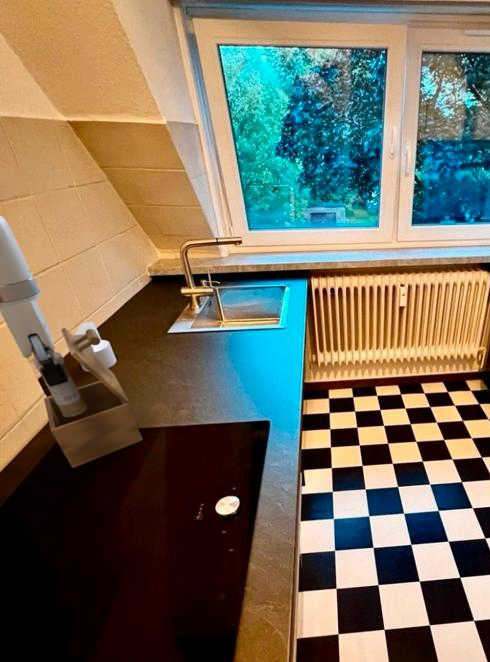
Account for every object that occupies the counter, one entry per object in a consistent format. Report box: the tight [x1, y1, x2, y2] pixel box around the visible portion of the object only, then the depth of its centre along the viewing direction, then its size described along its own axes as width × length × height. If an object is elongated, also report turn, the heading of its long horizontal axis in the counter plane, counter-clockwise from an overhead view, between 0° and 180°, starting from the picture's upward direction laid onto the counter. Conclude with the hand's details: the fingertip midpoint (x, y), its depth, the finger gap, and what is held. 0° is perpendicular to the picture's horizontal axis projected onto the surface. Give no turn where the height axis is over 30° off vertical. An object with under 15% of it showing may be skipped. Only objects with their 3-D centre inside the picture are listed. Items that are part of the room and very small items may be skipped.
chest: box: [43, 380, 144, 469], centre depth 86 cm, size 14×15×11 cm
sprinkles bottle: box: [32, 351, 87, 417], centre depth 79 cm, size 5×5×14 cm
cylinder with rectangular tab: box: [73, 321, 117, 373], centre depth 114 cm, size 9×9×12 cm
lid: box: [60, 327, 130, 404], centre depth 82 cm, size 14×15×5 cm
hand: (57, 377), depth 78 cm, fingers closed on sprinkles bottle, 4 cm apart
